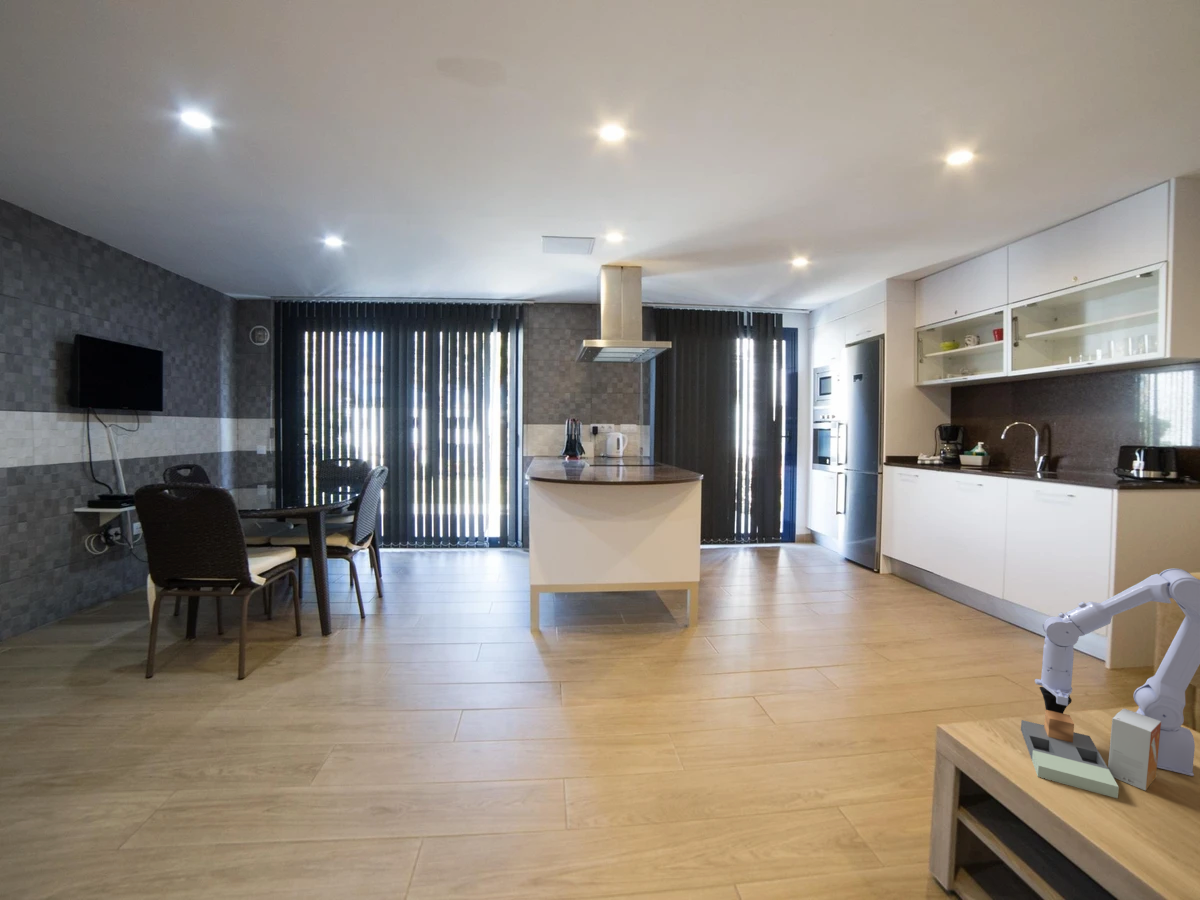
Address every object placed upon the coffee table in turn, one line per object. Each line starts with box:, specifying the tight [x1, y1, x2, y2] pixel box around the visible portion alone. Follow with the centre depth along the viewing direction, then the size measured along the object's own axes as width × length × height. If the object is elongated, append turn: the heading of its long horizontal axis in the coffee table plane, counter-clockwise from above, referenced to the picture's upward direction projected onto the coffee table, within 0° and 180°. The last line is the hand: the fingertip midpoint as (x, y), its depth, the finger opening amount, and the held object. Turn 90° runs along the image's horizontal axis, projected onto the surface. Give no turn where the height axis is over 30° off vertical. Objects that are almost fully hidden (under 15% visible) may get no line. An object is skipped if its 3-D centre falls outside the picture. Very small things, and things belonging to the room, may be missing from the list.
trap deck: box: [1020, 719, 1120, 799], centre depth 124 cm, size 13×21×2 cm, turn 150°
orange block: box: [1043, 709, 1075, 743], centre depth 130 cm, size 4×4×4 cm
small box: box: [1107, 708, 1161, 791], centre depth 119 cm, size 8×6×13 cm
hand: (1053, 720), depth 135 cm, fingers closed
